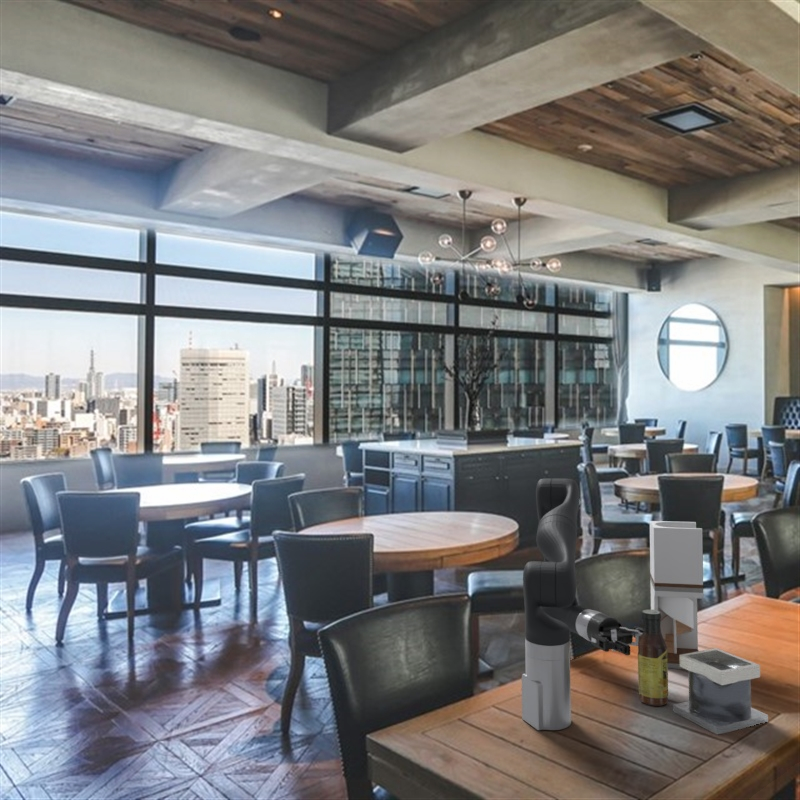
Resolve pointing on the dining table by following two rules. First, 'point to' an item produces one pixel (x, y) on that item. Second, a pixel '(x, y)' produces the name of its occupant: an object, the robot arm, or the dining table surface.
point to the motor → (719, 691)
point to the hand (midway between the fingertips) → (644, 648)
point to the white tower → (676, 584)
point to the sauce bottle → (652, 661)
